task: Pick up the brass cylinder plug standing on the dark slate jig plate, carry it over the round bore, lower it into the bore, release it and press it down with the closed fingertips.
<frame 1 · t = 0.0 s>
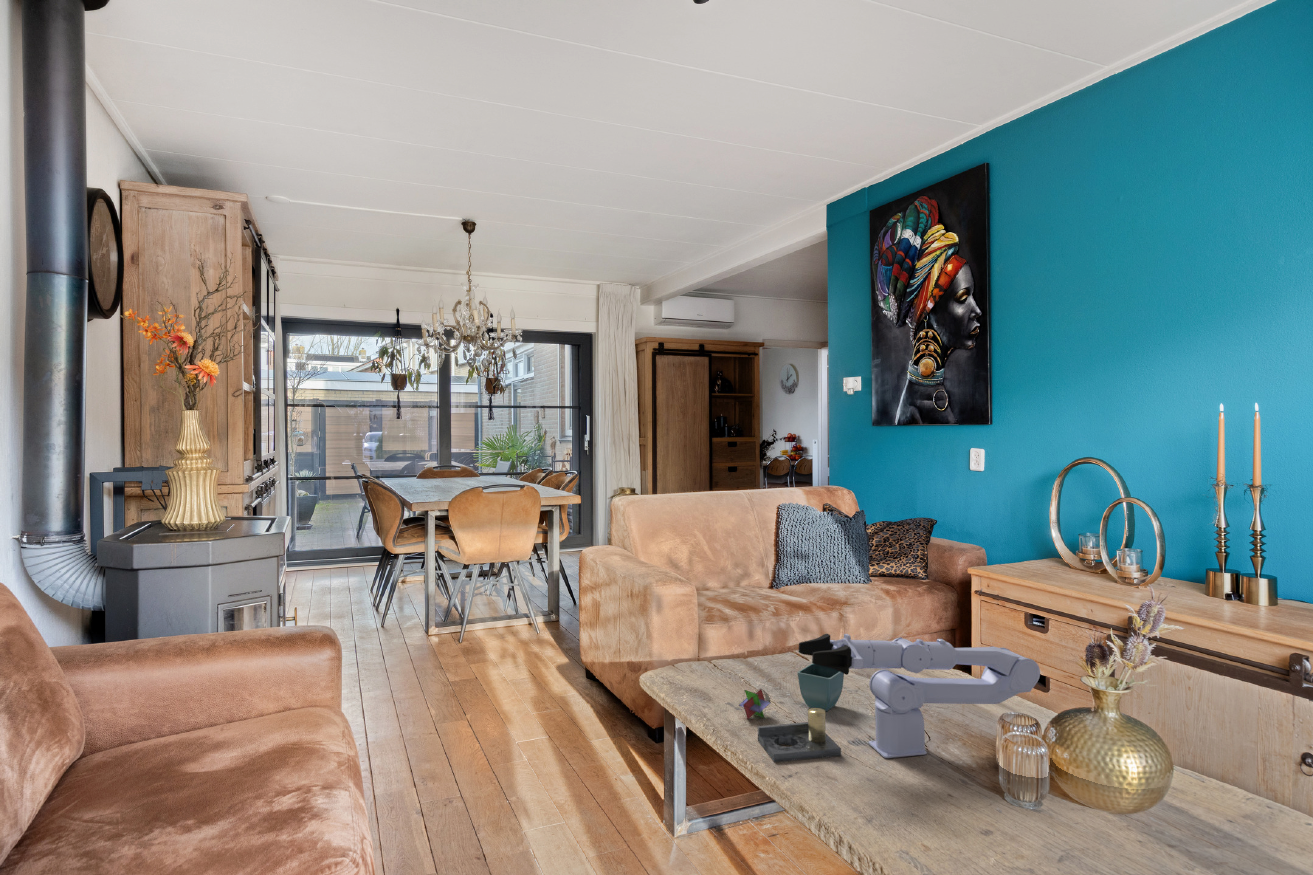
hand: (805, 652, 154), 22 cm above the table, tool horizontal, fingers open, 7 cm apart
brass cylinder plug: (817, 738, 159), point 2 cm above the table, touching jig
geometric puzzle: (754, 718, 177), on the table
jig: (799, 747, 159), on the table
flower pot: (821, 707, 183), on the table
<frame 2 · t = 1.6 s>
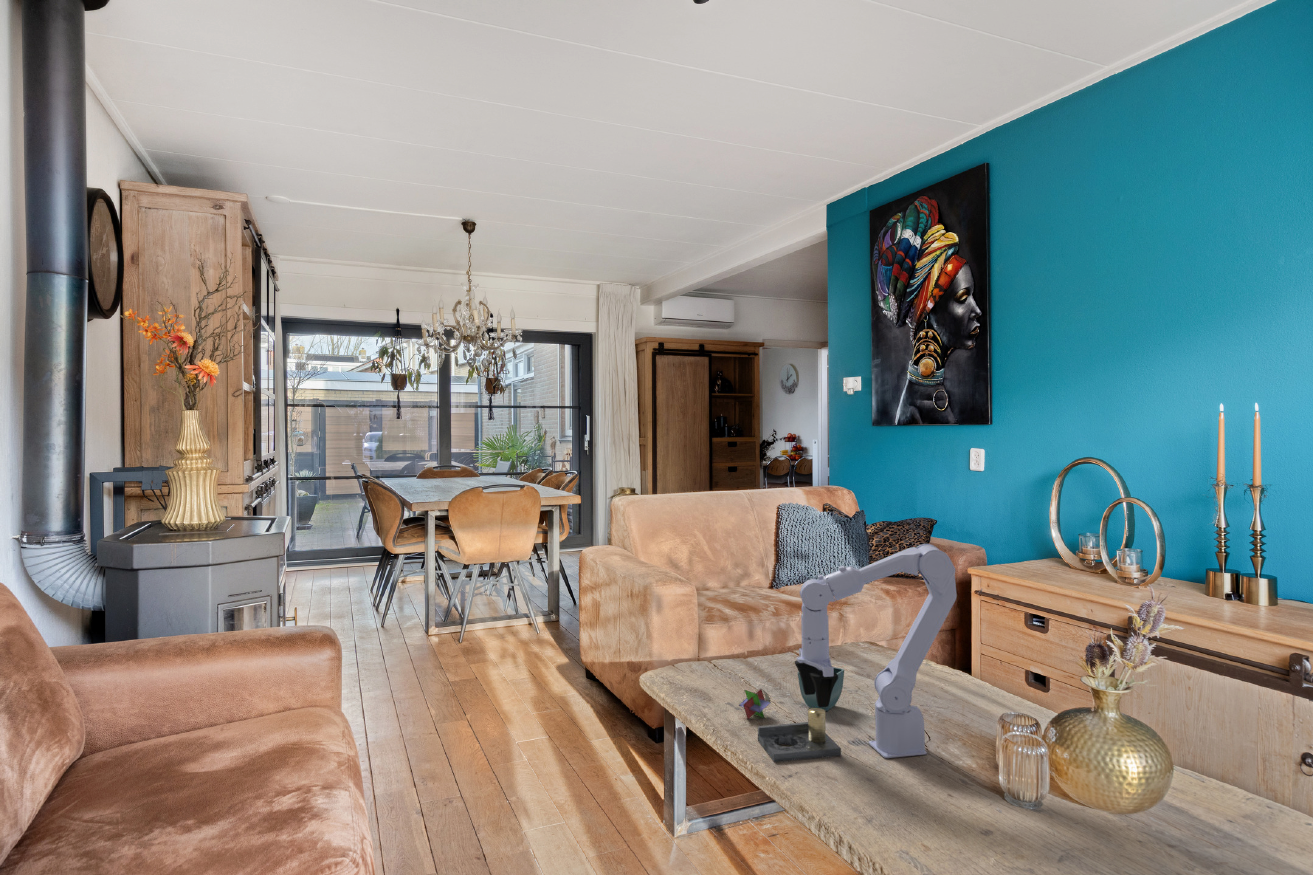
hand: (816, 700, 159), 10 cm above the table, tool pointing down, fingers open, 7 cm apart
nothing on the table moved.
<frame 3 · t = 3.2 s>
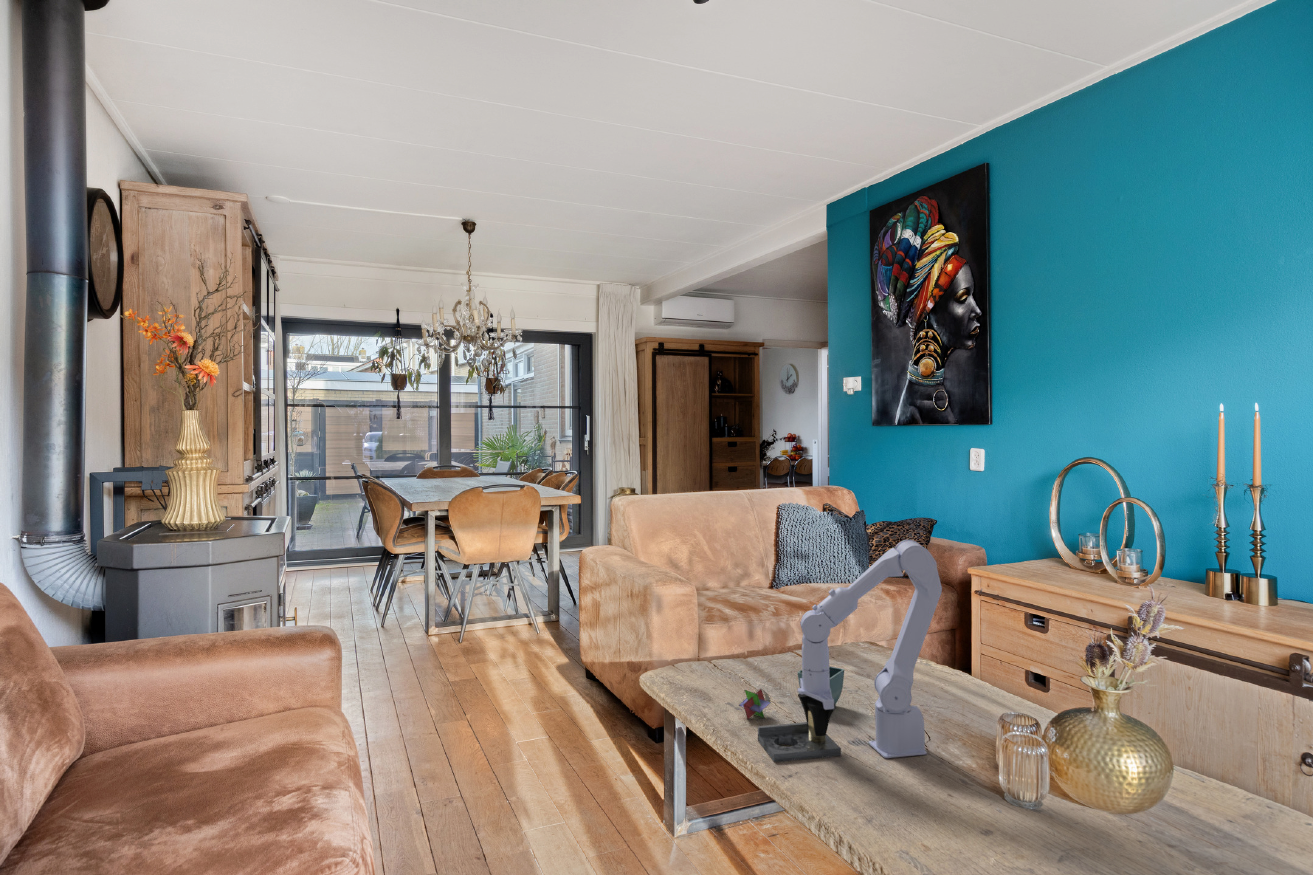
hand: (816, 731, 159), 3 cm above the table, tool pointing down, fingers closed on brass cylinder plug, 4 cm apart
brass cylinder plug: (817, 738, 159), point 2 cm above the table, touching gripper, jig
everything else where it was.
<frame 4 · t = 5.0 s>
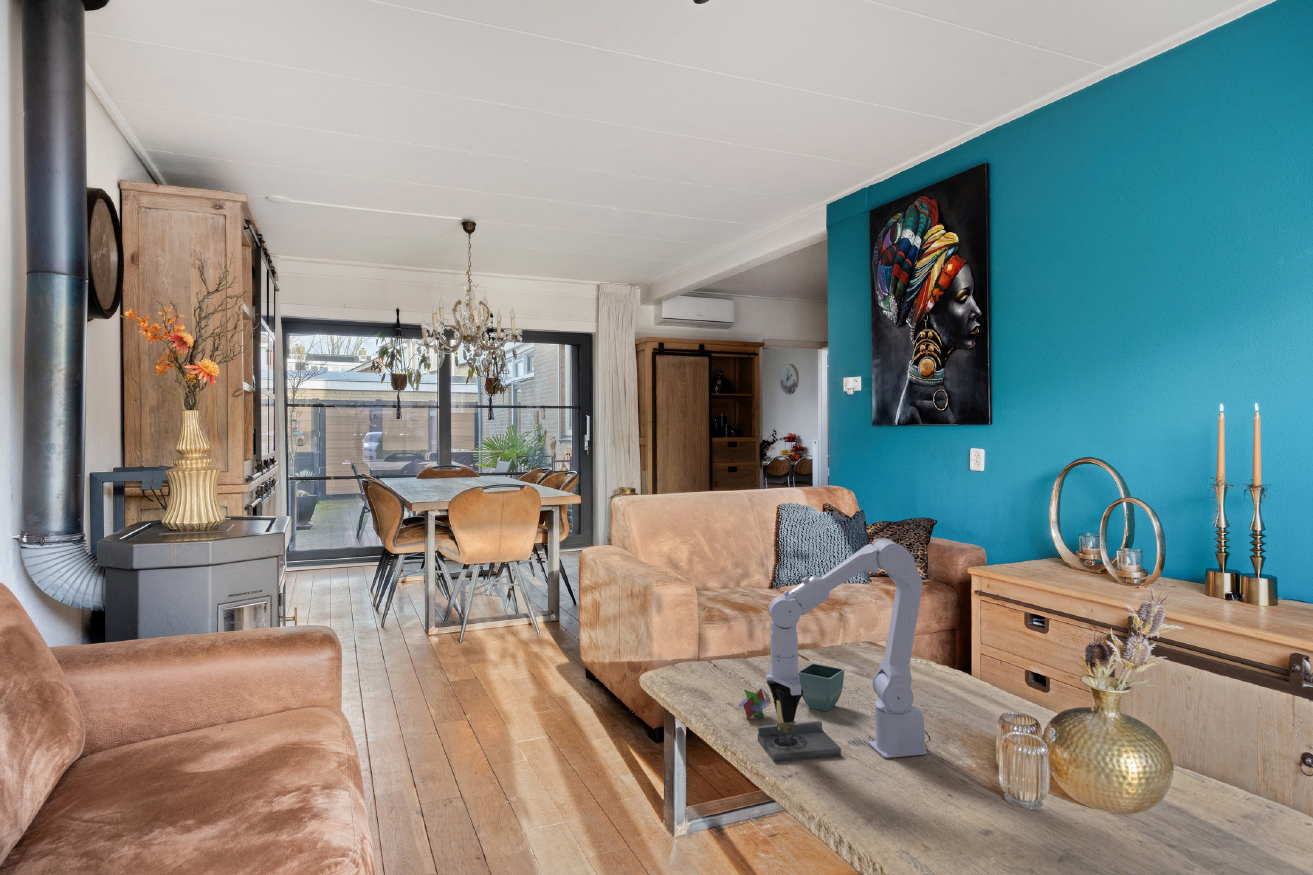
hand: (785, 717, 158), 7 cm above the table, tool pointing down, fingers closed on brass cylinder plug, 4 cm apart
brass cylinder plug: (785, 728, 158), point 4 cm above the table, touching gripper
everything else where it was.
when the fingers open (2 cm above the table, at t = 6.6 s): brass cylinder plug stays where it is, resting in jig.
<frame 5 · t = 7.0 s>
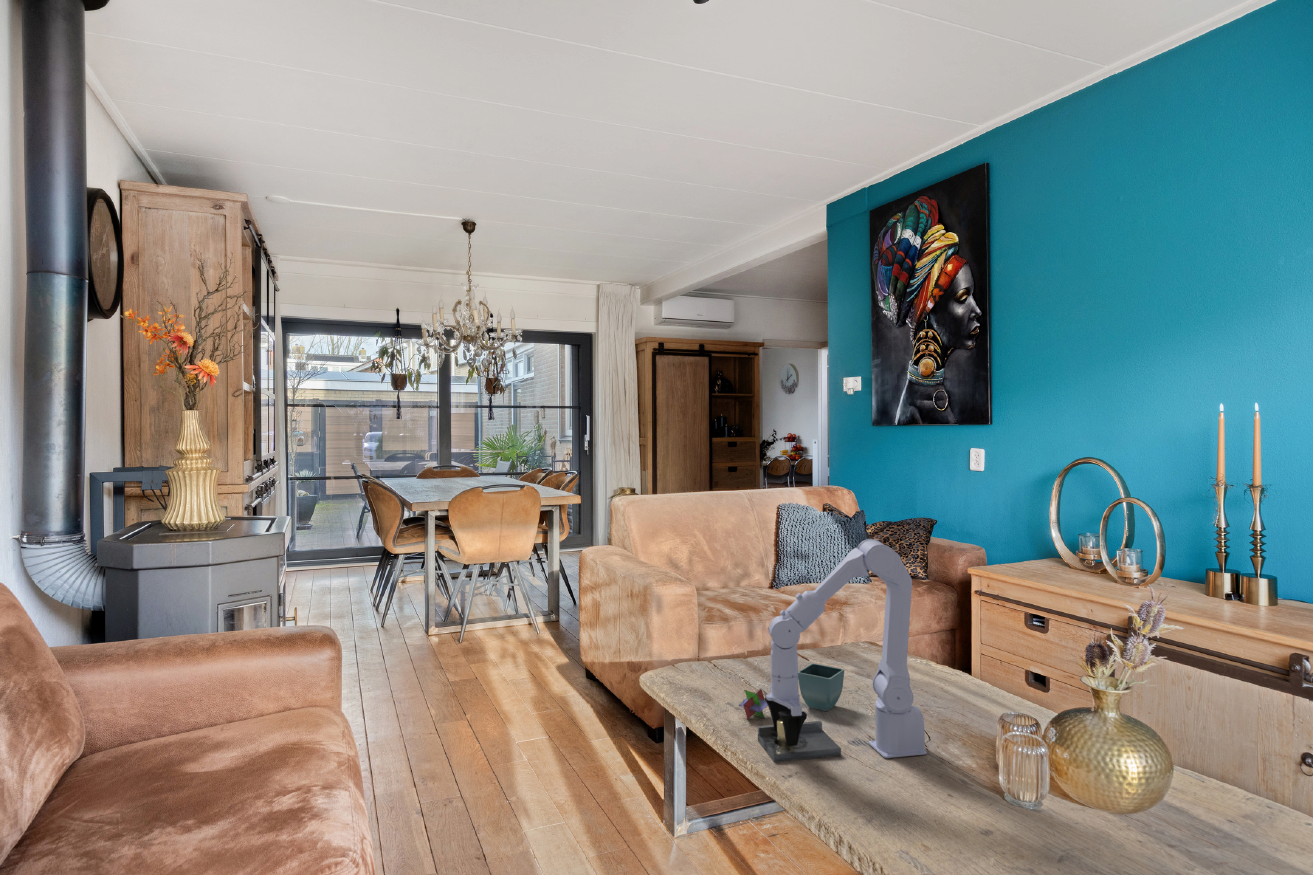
hand: (785, 737, 158), 2 cm above the table, tool pointing down, fingers open, 7 cm apart
brass cylinder plug: (786, 749, 158), resting in jig
everything else where it was.
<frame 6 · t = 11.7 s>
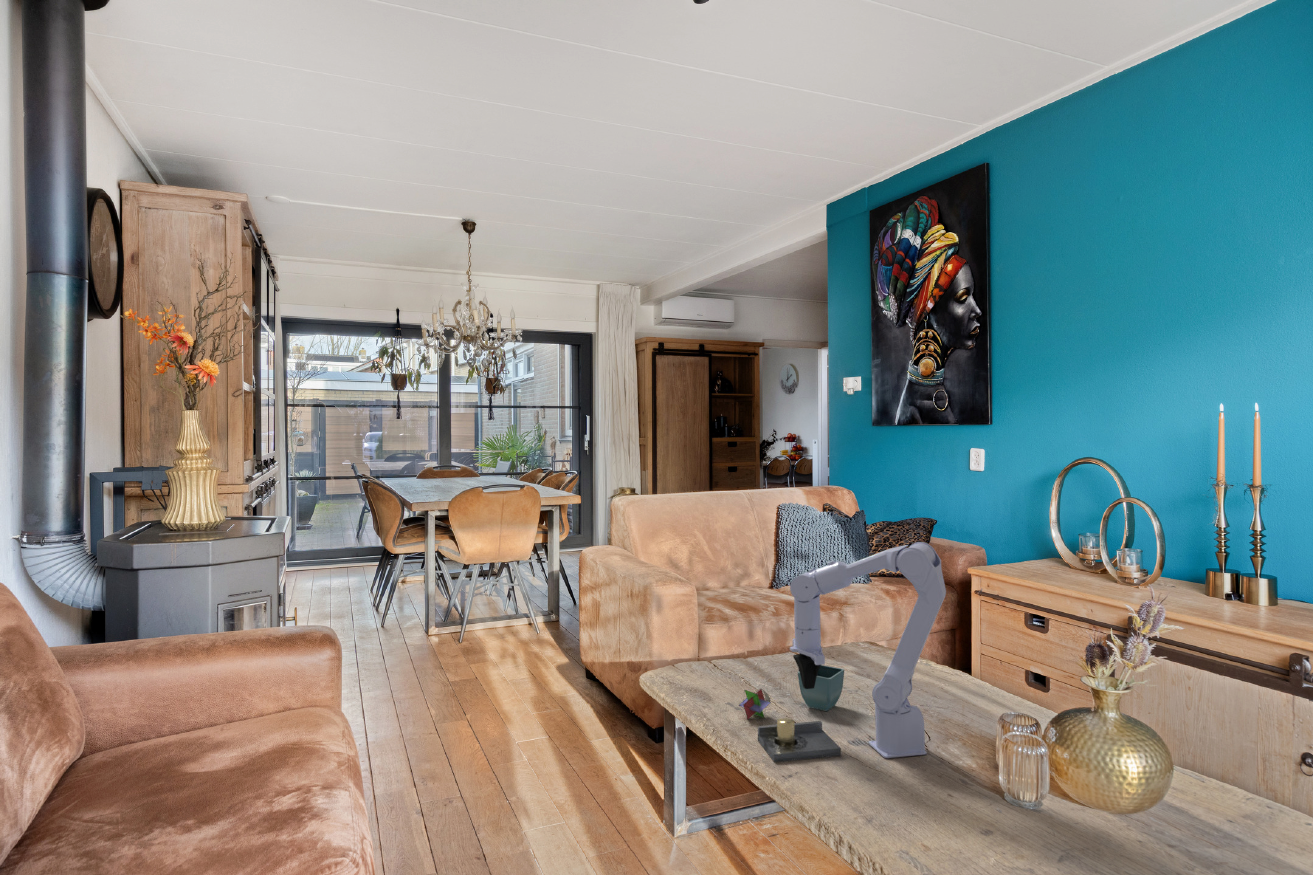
hand: (808, 687, 167), 10 cm above the table, tool pointing down, fingers closed
nothing on the table moved.
at the end: brass cylinder plug 0.0 cm from the target spot on the jig, point 0.0 cm above the jig's base; brass cylinder plug tilted 0°; the gripper is holding nothing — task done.
